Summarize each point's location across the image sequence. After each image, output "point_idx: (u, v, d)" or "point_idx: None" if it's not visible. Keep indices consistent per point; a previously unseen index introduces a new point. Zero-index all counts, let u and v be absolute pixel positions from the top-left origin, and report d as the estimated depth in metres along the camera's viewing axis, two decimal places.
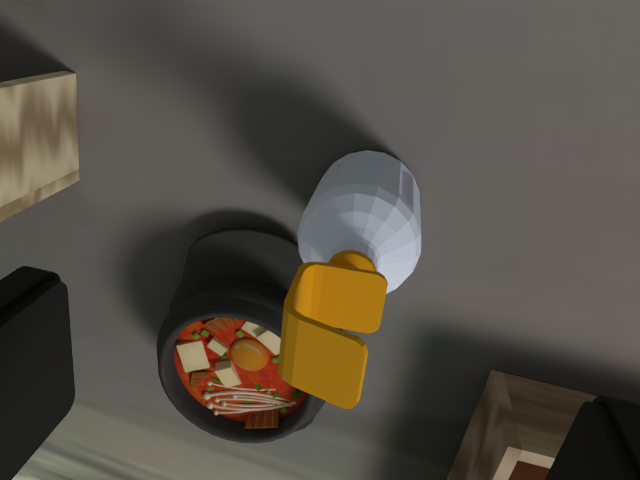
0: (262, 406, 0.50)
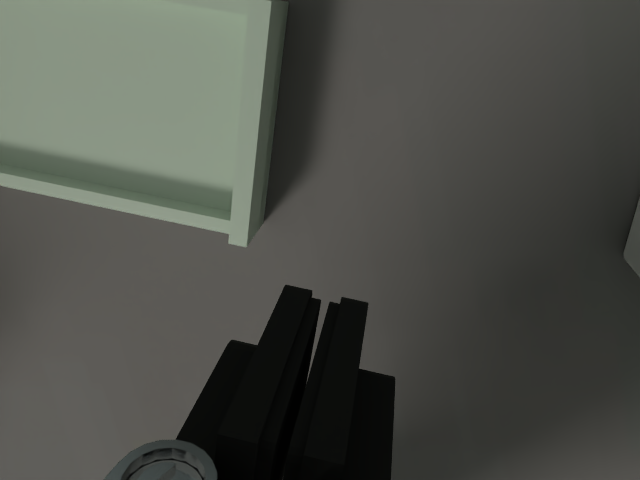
0: None
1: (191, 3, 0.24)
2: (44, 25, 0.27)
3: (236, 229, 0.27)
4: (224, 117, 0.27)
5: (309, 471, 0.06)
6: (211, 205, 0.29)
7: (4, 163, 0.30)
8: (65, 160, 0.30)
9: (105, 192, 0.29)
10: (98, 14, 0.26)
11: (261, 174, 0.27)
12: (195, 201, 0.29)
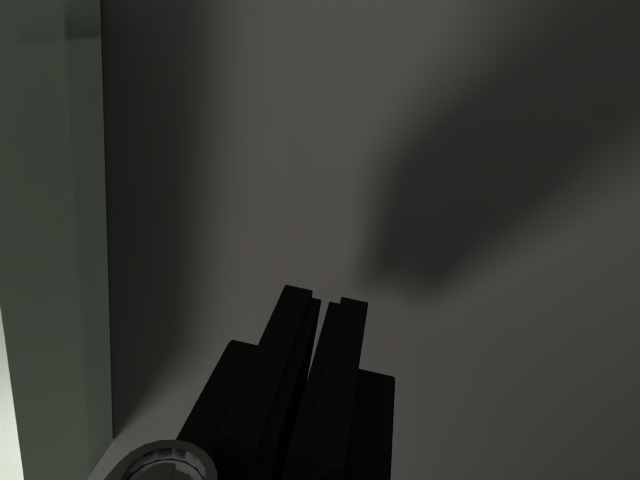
0: None
1: None
2: None
3: None
4: None
5: (309, 471, 0.06)
6: None
7: None
8: None
9: None
10: None
11: (67, 389, 0.12)
12: None
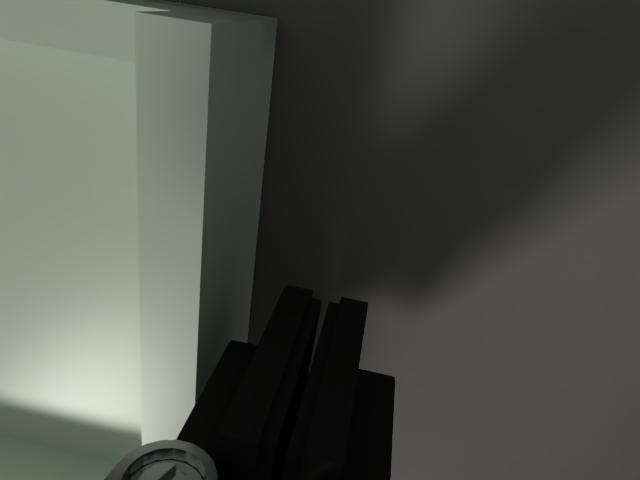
0: None
1: None
2: None
3: None
4: (127, 297, 0.11)
5: (308, 471, 0.06)
6: (117, 460, 0.13)
7: None
8: None
9: None
10: None
11: None
12: (84, 450, 0.13)
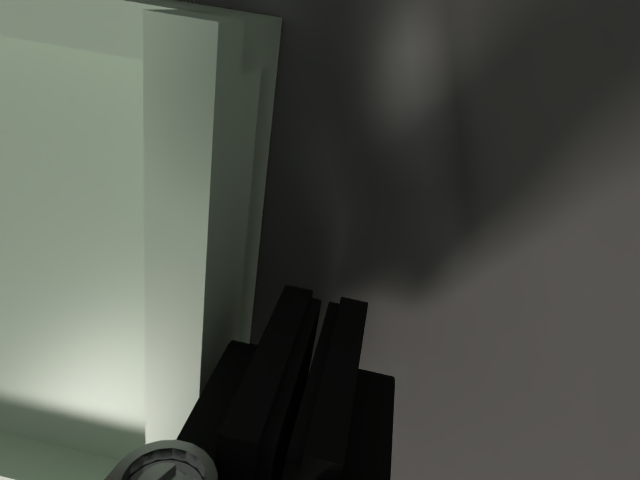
0: None
1: None
2: None
3: None
4: (131, 294, 0.11)
5: (309, 471, 0.06)
6: (120, 457, 0.13)
7: None
8: None
9: None
10: None
11: None
12: (87, 447, 0.14)
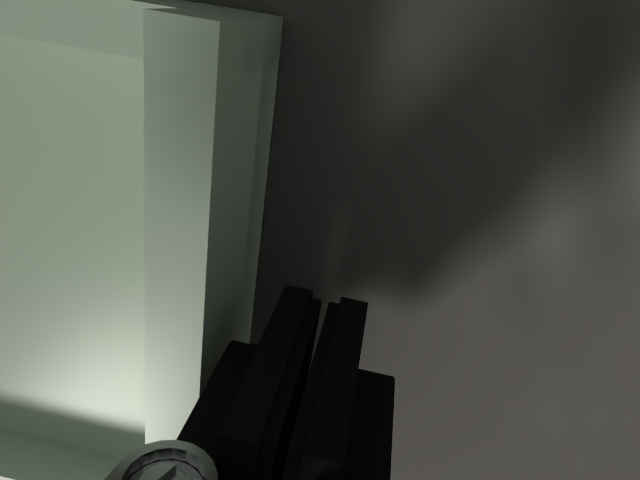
0: None
1: None
2: None
3: None
4: (131, 294, 0.11)
5: (308, 471, 0.06)
6: (119, 457, 0.13)
7: None
8: None
9: None
10: None
11: None
12: (86, 447, 0.13)
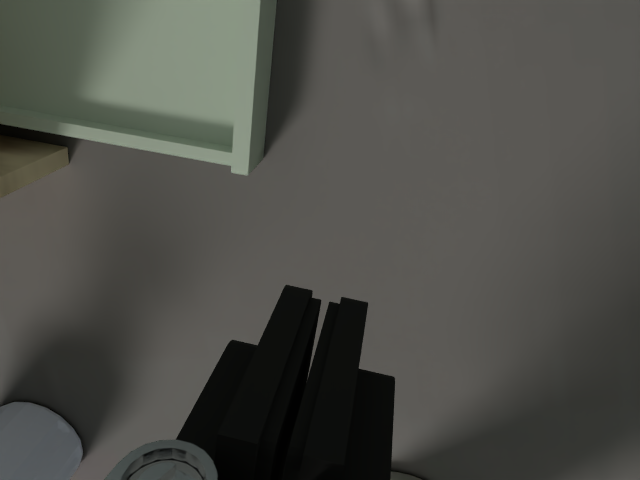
0: None
1: None
2: None
3: (238, 158, 0.29)
4: (224, 55, 0.29)
5: (309, 471, 0.06)
6: (214, 141, 0.32)
7: (22, 108, 0.33)
8: (78, 102, 0.32)
9: (116, 130, 0.31)
10: None
11: (260, 108, 0.30)
12: (200, 137, 0.32)
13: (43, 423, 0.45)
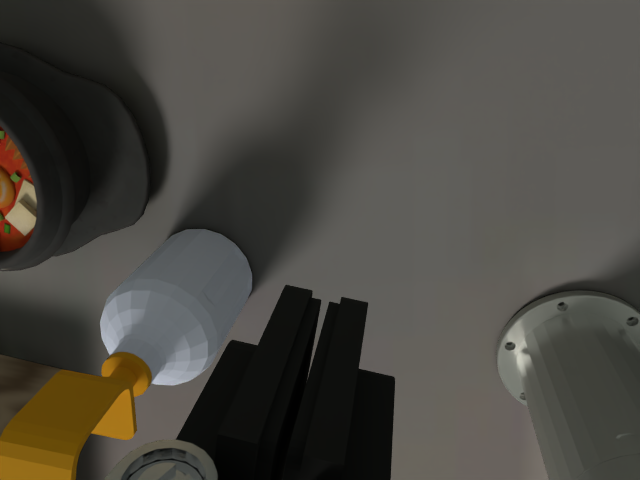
0: None
1: None
2: None
3: None
4: None
5: (309, 471, 0.06)
6: None
7: None
8: None
9: None
10: None
11: None
12: None
13: (224, 245, 0.44)
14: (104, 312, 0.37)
